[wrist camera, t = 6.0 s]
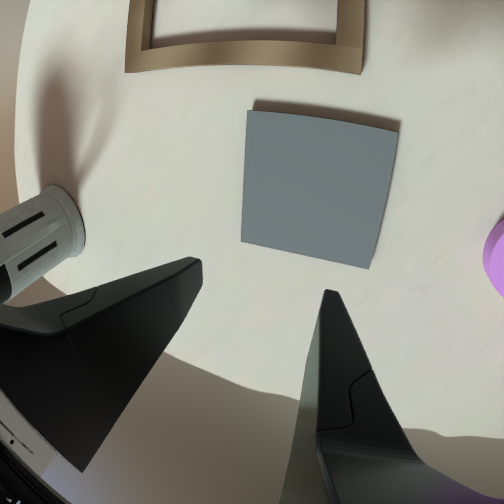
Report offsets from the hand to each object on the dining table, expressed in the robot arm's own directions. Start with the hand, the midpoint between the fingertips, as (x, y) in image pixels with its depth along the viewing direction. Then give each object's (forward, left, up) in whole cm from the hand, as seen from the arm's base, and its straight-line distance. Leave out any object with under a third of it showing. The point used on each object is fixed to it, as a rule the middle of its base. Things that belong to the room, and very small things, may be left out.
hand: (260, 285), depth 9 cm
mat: (0, 0, -11) cm, 11 cm away
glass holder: (+24, +6, -11) cm, 27 cm away
